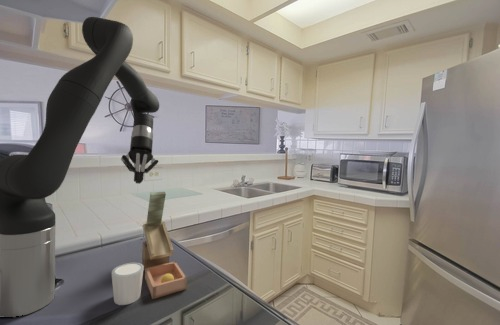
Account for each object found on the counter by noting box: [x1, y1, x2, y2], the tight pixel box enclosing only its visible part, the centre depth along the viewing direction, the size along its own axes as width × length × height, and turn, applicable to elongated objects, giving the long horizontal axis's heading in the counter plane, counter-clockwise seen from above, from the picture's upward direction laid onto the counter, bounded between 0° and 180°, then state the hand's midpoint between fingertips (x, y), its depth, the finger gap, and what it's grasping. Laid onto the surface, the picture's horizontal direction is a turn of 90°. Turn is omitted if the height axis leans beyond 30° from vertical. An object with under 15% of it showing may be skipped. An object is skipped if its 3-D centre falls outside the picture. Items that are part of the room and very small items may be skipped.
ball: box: [161, 273, 174, 283], centre depth 59 cm, size 3×3×3 cm
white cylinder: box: [111, 262, 144, 306], centre depth 55 cm, size 7×7×7 cm
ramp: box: [142, 191, 174, 260], centre depth 68 cm, size 6×14×13 cm, turn 34°
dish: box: [144, 261, 188, 300], centre depth 61 cm, size 8×10×3 cm
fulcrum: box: [141, 240, 170, 272], centre depth 71 cm, size 7×4×8 cm, turn 124°
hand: (138, 182), depth 82 cm, fingers closed
